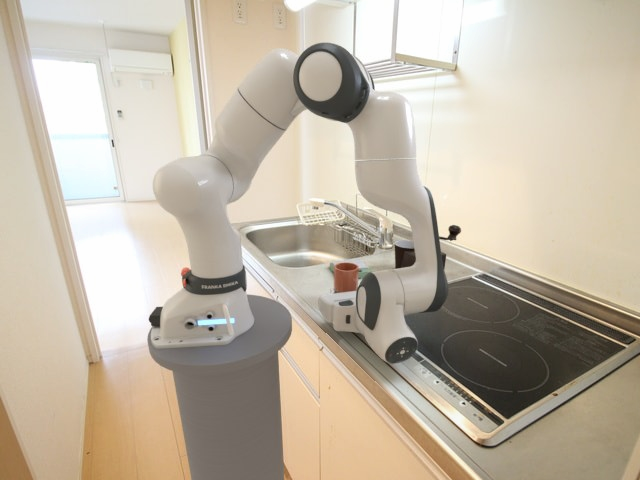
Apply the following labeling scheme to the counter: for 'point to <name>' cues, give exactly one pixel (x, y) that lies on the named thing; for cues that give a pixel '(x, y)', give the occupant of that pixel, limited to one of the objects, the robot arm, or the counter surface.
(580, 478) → the counter surface
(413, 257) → the manual coffee grinder
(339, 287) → the tumbler
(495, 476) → the counter surface
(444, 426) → the counter surface
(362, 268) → the scale
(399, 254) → the coffee mug
